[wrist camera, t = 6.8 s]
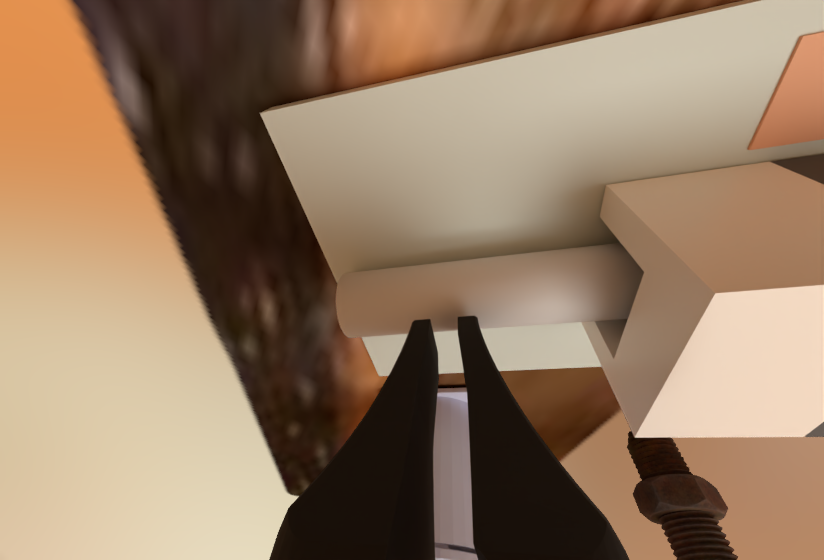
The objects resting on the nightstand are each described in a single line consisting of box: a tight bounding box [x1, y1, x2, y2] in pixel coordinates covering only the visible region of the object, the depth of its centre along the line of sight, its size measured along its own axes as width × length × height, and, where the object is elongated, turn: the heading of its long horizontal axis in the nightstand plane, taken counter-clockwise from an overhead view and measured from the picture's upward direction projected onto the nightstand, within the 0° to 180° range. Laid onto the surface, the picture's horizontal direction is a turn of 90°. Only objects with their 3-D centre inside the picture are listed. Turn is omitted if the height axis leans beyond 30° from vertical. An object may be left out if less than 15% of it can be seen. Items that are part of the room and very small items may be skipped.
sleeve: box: [581, 162, 824, 438], centre depth 11 cm, size 7×5×6 cm
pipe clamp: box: [260, 0, 824, 376], centre depth 12 cm, size 16×26×6 cm, turn 101°
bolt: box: [627, 431, 738, 560], centre depth 19 cm, size 6×5×15 cm
